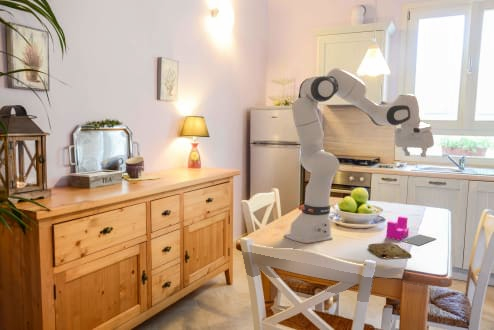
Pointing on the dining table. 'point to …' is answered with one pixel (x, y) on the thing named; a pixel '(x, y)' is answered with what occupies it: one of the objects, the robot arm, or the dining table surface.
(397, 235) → the toy block
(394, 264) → the dining table surface
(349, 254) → the dining table surface
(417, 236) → the mat
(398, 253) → the pastry
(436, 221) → the dining table surface
